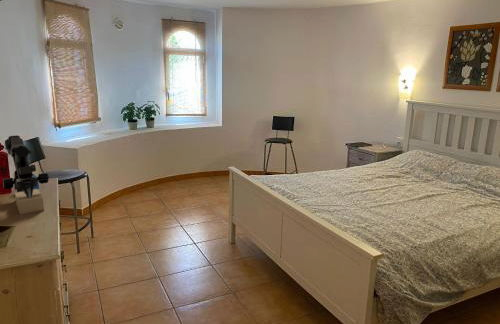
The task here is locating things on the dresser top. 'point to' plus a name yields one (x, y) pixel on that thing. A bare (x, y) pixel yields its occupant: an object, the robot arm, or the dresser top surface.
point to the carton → (30, 206)
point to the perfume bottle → (37, 184)
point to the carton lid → (23, 197)
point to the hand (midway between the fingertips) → (29, 196)
